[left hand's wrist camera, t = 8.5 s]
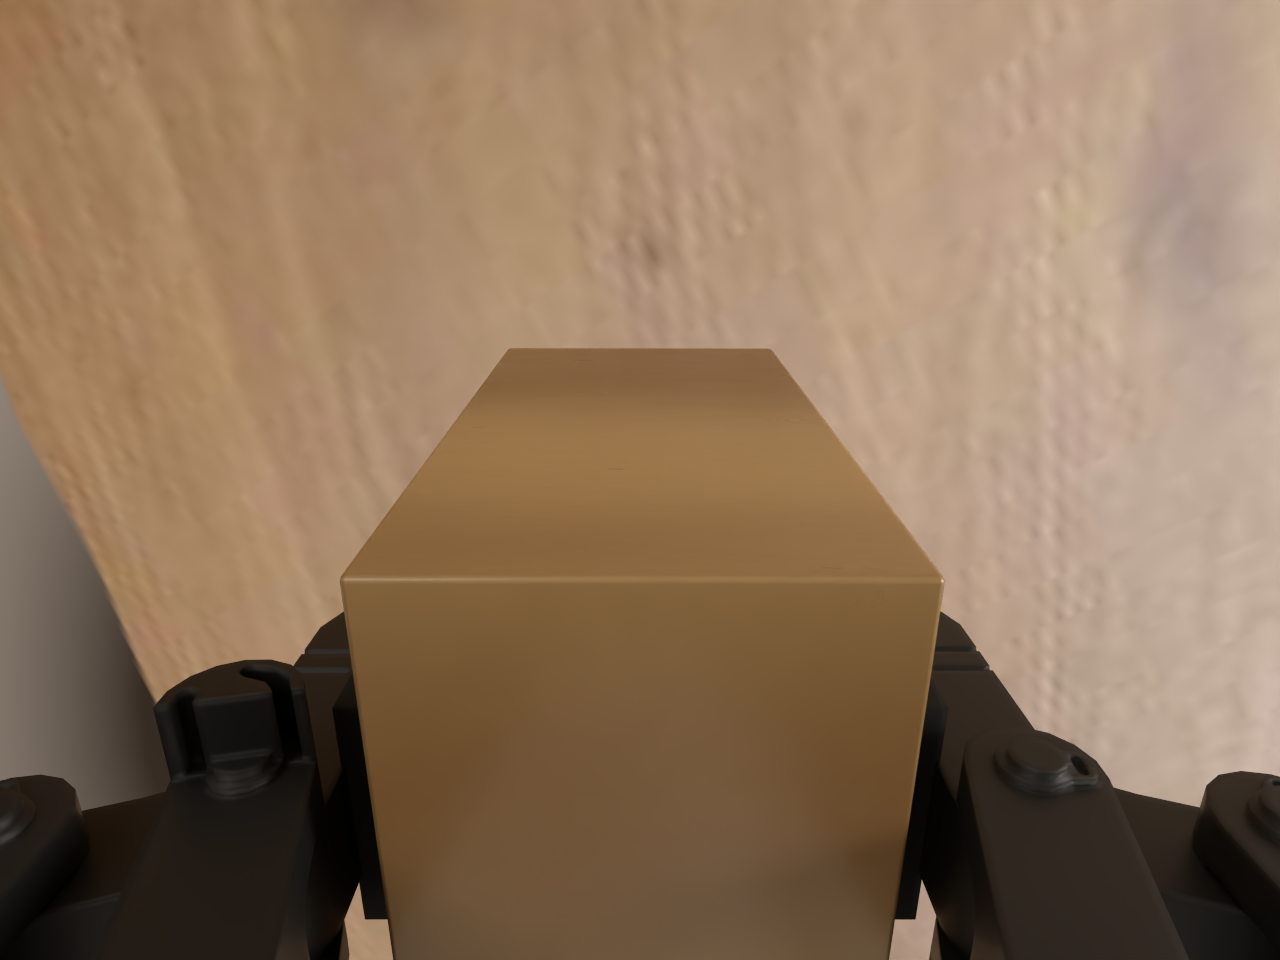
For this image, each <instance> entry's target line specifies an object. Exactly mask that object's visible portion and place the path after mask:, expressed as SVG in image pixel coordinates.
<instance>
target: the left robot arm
mask: <svg viewBox="0 0 1280 960" xmlns="http://www.w3.org/2000/svg"><path fill="white" fill-rule="evenodd" d="M153 709H154V713H155V717H156V722H157V725H158V730H159V734H160V738H161V742H162V746H163V750H164V754H165V758H166V762H167V766H168V770H169V774H170V778H171V781H170V783H169V785H168V788H167V790H166V792H162V793H159V794H155V795H152V796H148V797H145V798H140V799H135V800H131V801H126V802H121V803H117V804H112V805H108V806H103V807H98V808H94V809H89V810H84V811H82V810H81V807H80V804H79V800H78V797H77V794H76V790H75V789H74V788H73V787H72V786H71V785H70V784H69V783H68V782H66V781H65V780H64V779H63V778H57V777H51V776H45V775H34V776H25V777H16V778H10V779H6V780H2V781H0V960H349V948H348V940H347V933H346V927H345V921H344V919H345V916H346V914H347V911H348V909H349V906H350V904H351V901H352V899H353V896H354V894H355V891H356V889H357V886H358V883H360V890H361V896H362V903H363V909H364V915H365V919H388V918H387V911H386V904H385V897H384V890H383V883H382V876H381V868H380V861H379V854H378V847H377V840H376V833H375V826H374V819H373V812H372V805H371V798H370V791H369V784H368V777H367V769H366V762H365V755H364V748H363V741H362V734H361V727H360V720H359V713H358V706H357V699H356V692H355V685H354V678H353V670H352V663H351V656H350V649H349V642H348V635H347V628H346V621H345V614H344V612H342V613H341V614H340V615H338V616H337V617H335V618H334V619H332V620H331V621H329V622H328V623H326V624H325V625H323V626H322V627H321V628H320V629H319V630H318V632H317V633H316V635H315V636H314V637H313V639H312V640H311V642H310V643H309V645H308V646H307V647H306V649H305V654H302V655H301V656H300V657H299V659H298V660H297V662H296V663H295V665H294V666H292V665H290V664H286V663H282V662H278V661H274V660H243V661H238V662H234V663H229V664H224V665H219V666H216V667H213V668H211V669H208V670H206V671H203V672H200V673H198V674H195V675H193V676H190V677H189V678H187V679H185V680H184V681H182V682H181V683H179V684H178V685H176V686H175V687H173V688H171V689H170V690H168V691H167V692H166V693H165V694H164V696H163V697H162V698H161V699H160V700H159V701H158V703H157V704H156V705H155V706H154V707H153ZM921 880H922V881H923V883H924V886H925V888H926V891H927V893H928V896H929V898H930V901H931V903H932V906H933V908H934V911H935V913H936V921H935V927H934V933H933V939H932V945H931V951H930V957H929V960H1280V777H1278V776H1274V775H1271V774H1263V773H1254V772H1245V771H1239V772H1233V773H1227V774H1221V775H1218V776H1217V777H1216V778H1215V779H1214V780H1212V781H1211V782H1210V783H1209V784H1208V785H1207V786H1206V789H1205V792H1204V796H1203V799H1202V802H1201V806H1200V808H1199V807H1195V806H1190V805H1185V804H1181V803H1176V802H1171V801H1167V800H1162V799H1157V798H1153V797H1148V796H1143V795H1139V794H1135V793H1131V792H1127V791H1124V790H1120V789H1117V788H1113V786H1112V784H1111V782H1110V779H1109V778H1108V776H1107V775H1106V774H1105V772H1104V771H1103V770H1102V768H1101V767H1100V766H1099V764H1098V763H1097V761H1096V760H1094V759H1093V758H1092V757H1090V756H1089V755H1088V754H1086V753H1085V752H1084V751H1082V750H1081V749H1079V748H1078V747H1077V746H1075V745H1074V744H1071V743H1069V742H1067V741H1065V740H1063V739H1060V738H1058V737H1056V736H1054V735H1052V734H1049V733H1046V732H1042V731H1037V730H1035V729H1034V728H1033V727H1032V725H1031V724H1030V722H1029V721H1028V720H1027V718H1026V717H1025V715H1024V714H1023V713H1022V711H1021V710H1020V708H1019V707H1018V705H1017V704H1016V703H1015V701H1014V700H1013V698H1012V697H1011V696H1010V694H1009V693H1008V691H1007V690H1006V689H1005V687H1004V686H1003V684H1002V683H1001V681H1000V680H999V679H998V677H997V676H996V674H995V673H994V672H993V670H989V665H988V663H987V662H986V660H985V659H984V658H983V656H982V655H981V653H980V652H979V651H976V646H975V645H974V643H973V642H972V641H971V639H970V638H969V636H968V635H967V634H966V632H965V631H964V629H963V628H962V626H961V625H960V624H959V623H957V622H956V621H954V620H953V619H951V618H950V617H948V616H947V615H945V614H944V613H942V612H941V611H940V616H939V623H938V630H937V637H936V643H935V650H934V657H933V664H932V671H931V677H930V684H929V691H928V698H927V704H926V711H925V718H924V725H923V731H922V738H921V745H920V752H919V759H918V765H917V772H916V779H915V786H914V792H913V799H912V806H911V813H910V819H909V826H908V833H907V840H906V847H905V853H904V860H903V867H902V874H901V880H900V887H899V894H898V901H897V907H896V914H895V919H915V918H916V912H917V906H918V899H919V893H920V887H921Z"/></svg>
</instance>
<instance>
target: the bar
mask: <svg viewBox="0 0 1280 960" xmlns="http://www.w3.org/2000/svg"><path fill="white" fill-rule="evenodd" d="M944 582H945V581H944V578H943V576H942V574H941V573H940V572H939V570H938V569H937V568H936V566H935V565H934V564H933V562H932V561H931V560H930V558H929V557H928V556H927V554H926V553H925V552H924V550H923V549H922V548H921V547H920V545H919V544H918V543H917V541H916V540H915V539H914V537H913V536H912V535H911V533H910V532H909V531H908V529H907V528H906V527H905V525H904V524H903V523H902V521H901V520H900V519H899V517H898V516H897V515H896V514H895V512H894V511H893V510H892V508H891V507H890V506H889V504H888V503H887V502H886V500H885V499H884V498H883V496H882V495H881V494H880V492H879V491H878V490H877V488H876V487H875V486H874V484H873V483H872V482H871V480H870V479H869V478H868V477H867V475H866V474H865V473H864V471H863V470H862V469H861V467H860V466H859V465H858V463H857V462H856V461H855V459H854V458H853V457H852V455H851V454H850V453H849V451H848V450H847V449H846V447H845V446H844V445H843V444H842V442H841V441H840V440H839V438H838V437H837V436H836V434H835V433H834V432H833V430H832V429H831V428H830V426H829V425H828V424H827V422H826V421H825V420H824V418H823V417H822V416H821V414H820V413H819V412H818V411H817V409H816V408H815V407H814V405H813V404H812V403H811V401H810V400H809V399H808V397H807V396H806V395H805V393H804V392H803V391H802V389H801V388H800V387H799V385H798V384H797V383H796V381H795V380H794V379H793V377H792V376H791V375H790V374H789V372H788V371H787V370H786V368H785V367H784V366H783V364H782V363H781V362H780V360H779V359H778V358H777V356H776V355H775V354H774V352H773V351H772V350H771V349H537V348H511V349H508V351H507V352H506V353H505V355H504V356H503V357H502V359H501V360H500V361H499V363H498V364H497V366H496V367H495V368H494V370H493V371H492V372H491V374H490V375H489V376H488V378H487V379H486V380H485V382H484V383H483V385H482V386H481V387H480V389H479V390H478V391H477V393H476V394H475V395H474V397H473V398H472V399H471V401H470V402H469V404H468V405H467V406H466V408H465V409H464V410H463V412H462V413H461V414H460V416H459V417H458V418H457V420H456V421H455V423H454V424H453V425H452V427H451V428H450V429H449V431H448V432H447V433H446V435H445V436H444V437H443V439H442V440H441V442H440V443H439V444H438V446H437V447H436V448H435V450H434V451H433V452H432V454H431V455H430V456H429V458H428V459H427V461H426V462H425V463H424V465H423V466H422V467H421V469H420V470H419V471H418V473H417V474H416V475H415V477H414V478H413V480H412V481H411V482H410V484H409V485H408V486H407V488H406V489H405V490H404V492H403V493H402V494H401V496H400V497H399V499H398V500H397V501H396V503H395V504H394V505H393V507H392V508H391V509H390V511H389V512H388V513H387V515H386V516H385V518H384V519H383V520H382V522H381V523H380V524H379V526H378V527H377V528H376V530H375V531H374V532H373V534H372V535H371V537H370V538H369V539H368V541H367V542H366V543H365V545H364V546H363V547H362V549H361V550H360V551H359V553H358V554H357V556H356V557H355V558H354V560H353V561H352V562H351V564H350V565H349V566H348V568H347V569H346V570H345V572H344V573H343V575H342V576H341V579H340V586H341V593H342V600H343V607H344V614H345V621H346V628H347V635H348V642H349V649H350V656H351V663H352V670H353V678H354V685H355V692H356V699H357V706H358V713H359V720H360V727H361V734H362V741H363V748H364V755H365V762H366V769H367V777H368V784H369V791H370V798H371V805H372V812H373V819H374V826H375V833H376V840H377V847H378V854H379V861H380V868H381V876H382V883H383V890H384V897H385V904H386V911H387V918H388V925H389V932H390V939H391V946H392V953H393V960H889V955H890V948H891V941H892V935H893V928H894V921H895V914H896V907H897V901H898V894H899V887H900V880H901V874H902V867H903V860H904V853H905V847H906V840H907V833H908V826H909V819H910V813H911V806H912V799H913V792H914V786H915V779H916V772H917V765H918V759H919V752H920V745H921V738H922V731H923V725H924V718H925V711H926V704H927V698H928V691H929V684H930V677H931V671H932V664H933V657H934V650H935V643H936V637H937V630H938V623H939V616H940V610H941V603H942V596H943V589H944Z"/></svg>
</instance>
